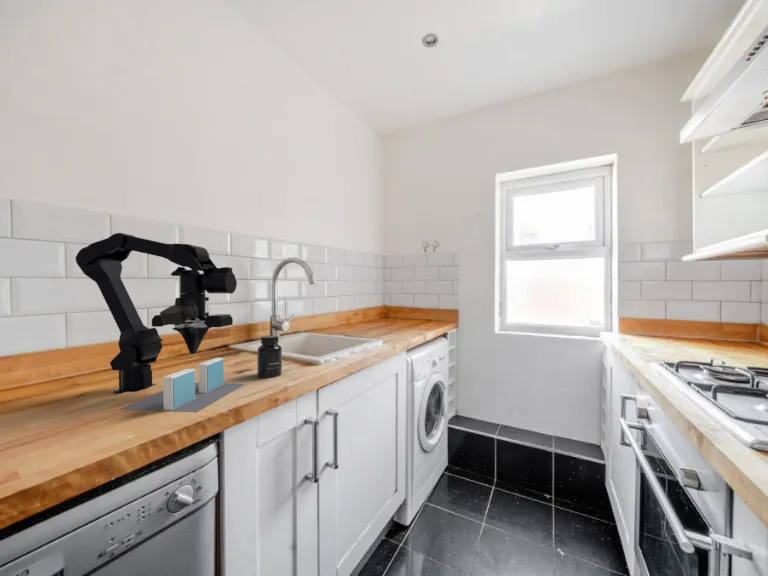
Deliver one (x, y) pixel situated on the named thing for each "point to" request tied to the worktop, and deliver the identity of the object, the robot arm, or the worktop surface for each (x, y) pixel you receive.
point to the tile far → (210, 375)
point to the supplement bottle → (269, 358)
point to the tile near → (178, 388)
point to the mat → (194, 405)
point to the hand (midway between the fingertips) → (193, 353)
